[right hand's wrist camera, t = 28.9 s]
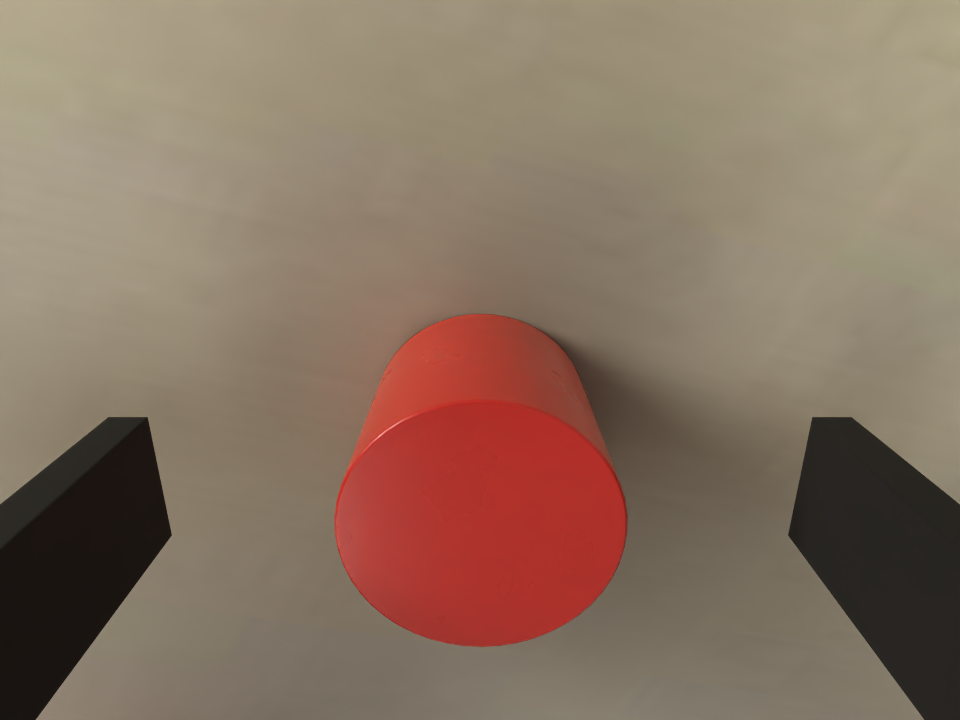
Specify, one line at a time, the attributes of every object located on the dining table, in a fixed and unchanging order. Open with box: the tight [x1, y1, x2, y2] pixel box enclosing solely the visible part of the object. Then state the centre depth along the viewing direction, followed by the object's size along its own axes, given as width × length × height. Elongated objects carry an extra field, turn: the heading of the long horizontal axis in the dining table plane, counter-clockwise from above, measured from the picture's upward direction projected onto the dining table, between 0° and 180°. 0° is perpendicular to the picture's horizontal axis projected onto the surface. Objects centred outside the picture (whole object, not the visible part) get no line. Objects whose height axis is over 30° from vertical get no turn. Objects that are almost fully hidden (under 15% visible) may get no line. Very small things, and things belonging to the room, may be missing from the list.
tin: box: [335, 314, 627, 647], centre depth 13 cm, size 5×5×5 cm
